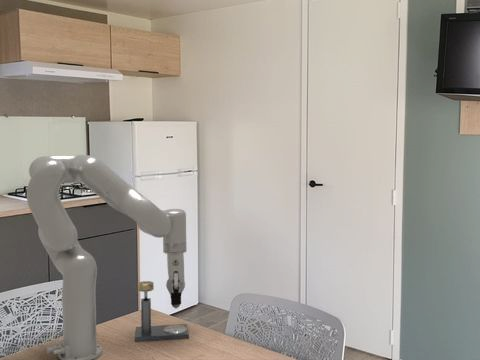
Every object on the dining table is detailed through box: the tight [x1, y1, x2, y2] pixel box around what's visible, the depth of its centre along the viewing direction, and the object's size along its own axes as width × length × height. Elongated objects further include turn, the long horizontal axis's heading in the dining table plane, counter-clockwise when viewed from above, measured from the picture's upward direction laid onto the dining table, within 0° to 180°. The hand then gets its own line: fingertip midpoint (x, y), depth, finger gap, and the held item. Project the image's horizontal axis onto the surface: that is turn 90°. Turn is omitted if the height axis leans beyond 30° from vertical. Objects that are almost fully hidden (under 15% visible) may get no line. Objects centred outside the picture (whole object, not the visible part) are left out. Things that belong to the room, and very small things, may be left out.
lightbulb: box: [165, 278, 186, 309], centre depth 174 cm, size 6×6×11 cm
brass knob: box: [137, 280, 154, 301], centre depth 172 cm, size 5×5×6 cm
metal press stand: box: [134, 297, 190, 343], centre depth 174 cm, size 17×9×12 cm, turn 99°
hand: (175, 300), depth 174 cm, fingers closed on lightbulb, 5 cm apart
